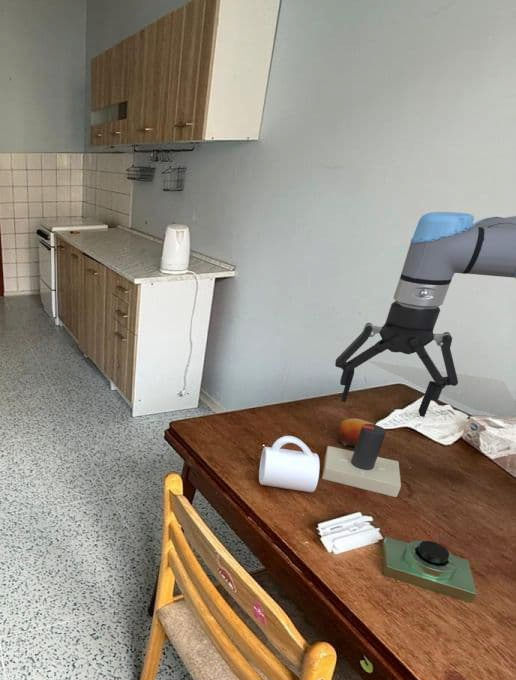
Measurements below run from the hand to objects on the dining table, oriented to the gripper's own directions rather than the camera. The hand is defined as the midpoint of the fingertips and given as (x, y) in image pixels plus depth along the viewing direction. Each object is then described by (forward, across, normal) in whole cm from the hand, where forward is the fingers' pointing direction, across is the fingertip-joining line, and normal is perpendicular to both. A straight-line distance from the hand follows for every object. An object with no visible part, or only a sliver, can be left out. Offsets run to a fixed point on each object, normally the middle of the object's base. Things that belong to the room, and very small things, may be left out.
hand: (381, 406), depth 96 cm
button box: (+18, +10, -26) cm, 33 cm away
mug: (+18, -14, -11) cm, 25 cm away
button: (+14, +10, -26) cm, 31 cm away
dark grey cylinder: (+15, 0, 0) cm, 15 cm away
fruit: (+18, -1, +14) cm, 23 cm away
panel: (+18, 0, 0) cm, 18 cm away
